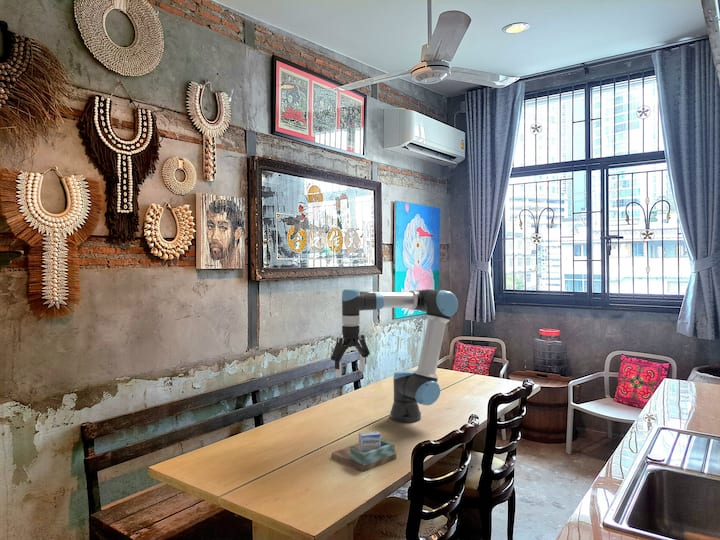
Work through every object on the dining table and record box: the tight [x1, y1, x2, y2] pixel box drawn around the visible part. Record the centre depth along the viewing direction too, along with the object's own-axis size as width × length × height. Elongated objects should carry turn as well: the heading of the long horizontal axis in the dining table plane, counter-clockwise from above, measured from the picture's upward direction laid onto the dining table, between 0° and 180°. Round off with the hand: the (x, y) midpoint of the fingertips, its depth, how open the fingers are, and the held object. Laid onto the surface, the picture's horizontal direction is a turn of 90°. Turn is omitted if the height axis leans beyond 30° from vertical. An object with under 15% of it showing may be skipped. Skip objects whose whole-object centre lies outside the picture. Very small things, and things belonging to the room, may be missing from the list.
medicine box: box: [358, 430, 382, 453], centre depth 195 cm, size 8×4×9 cm, turn 105°
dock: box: [331, 438, 397, 473], centre depth 198 cm, size 18×18×6 cm
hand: (350, 374), depth 216 cm, fingers open, 13 cm apart
